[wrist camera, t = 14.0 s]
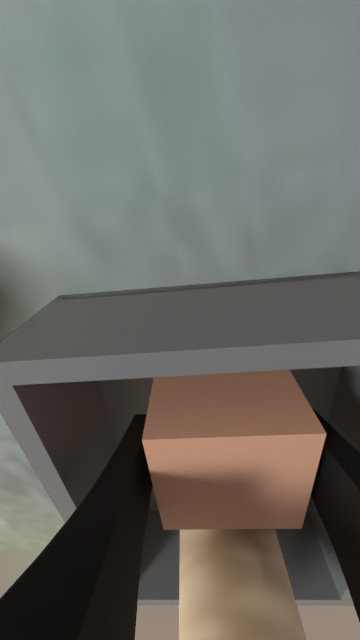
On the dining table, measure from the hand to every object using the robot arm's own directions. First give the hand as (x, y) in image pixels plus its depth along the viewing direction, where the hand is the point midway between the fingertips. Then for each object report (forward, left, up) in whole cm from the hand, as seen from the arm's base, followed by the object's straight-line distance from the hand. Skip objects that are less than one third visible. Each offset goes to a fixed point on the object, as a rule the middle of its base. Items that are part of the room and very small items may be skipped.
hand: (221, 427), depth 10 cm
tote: (0, +4, -3) cm, 5 cm away
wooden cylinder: (0, +7, -2) cm, 8 cm away
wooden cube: (0, 0, -2) cm, 2 cm away
